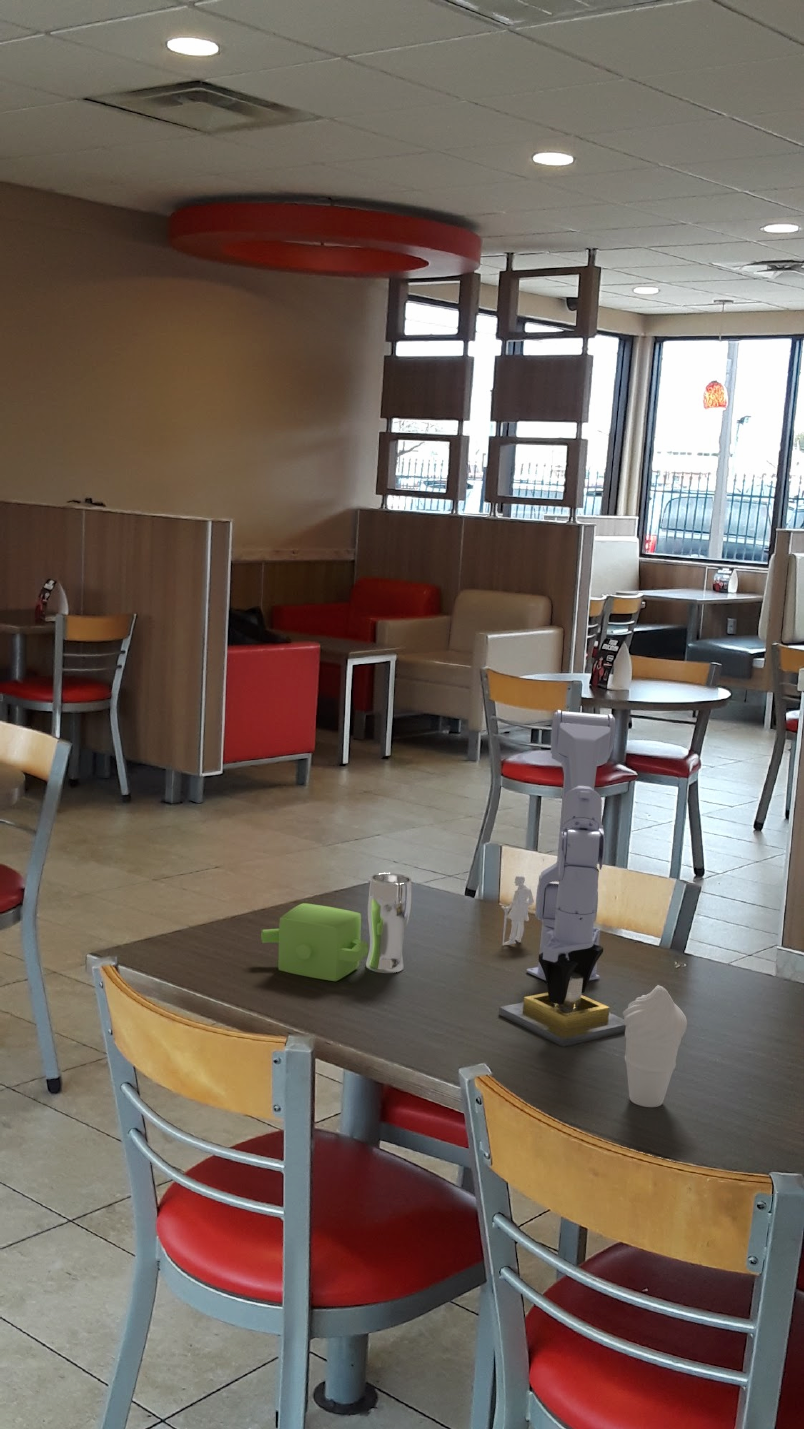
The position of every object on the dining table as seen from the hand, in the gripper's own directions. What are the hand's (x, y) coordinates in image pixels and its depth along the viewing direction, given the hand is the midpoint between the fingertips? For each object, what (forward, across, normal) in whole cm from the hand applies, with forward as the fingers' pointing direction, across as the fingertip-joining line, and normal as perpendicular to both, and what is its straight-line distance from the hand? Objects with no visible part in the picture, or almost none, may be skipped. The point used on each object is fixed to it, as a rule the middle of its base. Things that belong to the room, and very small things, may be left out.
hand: (567, 997), depth 212 cm
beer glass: (+4, -1, -34) cm, 34 cm away
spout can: (+3, 0, 0) cm, 3 cm away
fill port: (+4, 0, 0) cm, 4 cm away
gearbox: (+4, +9, -41) cm, 42 cm away
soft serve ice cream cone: (+4, +18, +21) cm, 28 cm away
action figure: (+4, -29, -25) cm, 38 cm away
